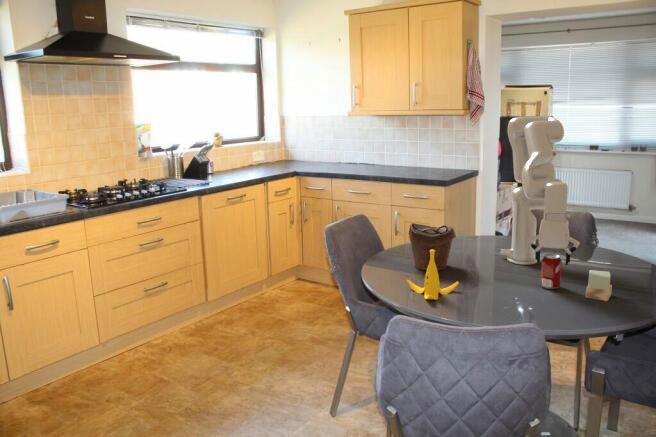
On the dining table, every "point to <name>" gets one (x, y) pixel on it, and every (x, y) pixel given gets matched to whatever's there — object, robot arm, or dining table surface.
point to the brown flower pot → (430, 244)
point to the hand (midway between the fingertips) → (552, 262)
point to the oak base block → (598, 293)
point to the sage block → (599, 279)
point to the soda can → (551, 271)
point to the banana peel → (431, 282)
